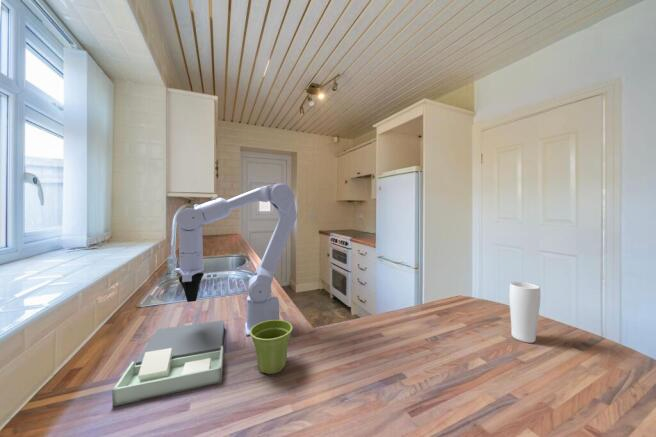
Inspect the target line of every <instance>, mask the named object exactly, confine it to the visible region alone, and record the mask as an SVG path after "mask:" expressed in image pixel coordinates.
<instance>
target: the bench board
mask: <svg viewBox="0 0 656 437" xmlns="http://www.w3.org/2000/svg"><path fill="white" fill-rule="evenodd" d="M224 332H225V320H224V319H222V320H215V321H208V322H201V323H195V324H194V323H193V324H186V325H182V326H181V325H180V326H179V325H178V326H174V327H173V326H172V327H166V328H159V329H157V330H156V331H155V332H154V334H153V336H152V337H151V338H150V340H149V341H148V343H147V344H146V346H145V348H144V349H143V350H142V352H141V354H140V355H139V357H138V358H137V360H136V361H135V366H136V365H141V364H142V361H143V358H144V355H145V352H150V351H156V350H162V349H168V348H172V351H173V356H172V359H175V358H181V357H186V356H192V355H197V354H203V353H208V352H214V351H219V350H221V346H224V344H223V343H224V335H225V334H224Z"/></svg>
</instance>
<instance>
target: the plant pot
mask: <svg viewBox="0 0 656 437" xmlns="http://www.w3.org/2000/svg"><path fill="white" fill-rule="evenodd" d="M292 331H293V325H292V323H290V322H289V321H286V320H283V319H279V320H268V321H264V322H261V323H258V324H256V325H255V326H253V327H252V328H251V330H250V335H249V336H250V337H251V338H252V342H253V343H254V350H255V355H256V362H257V368H258V370H259V372H260V373H265V374H266V375H271V374H272V375H274V374H277V373H280V372H281V371H282V370H283V369H284V368H285V367H286V365H287V357H288V348H289V339H290V337H291V333H292Z"/></svg>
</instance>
